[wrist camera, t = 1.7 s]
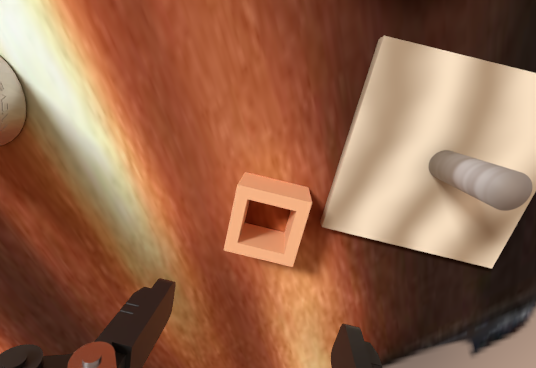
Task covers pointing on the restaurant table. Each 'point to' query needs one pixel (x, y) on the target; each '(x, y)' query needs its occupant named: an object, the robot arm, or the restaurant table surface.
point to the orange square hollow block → (260, 238)
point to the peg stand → (437, 154)
